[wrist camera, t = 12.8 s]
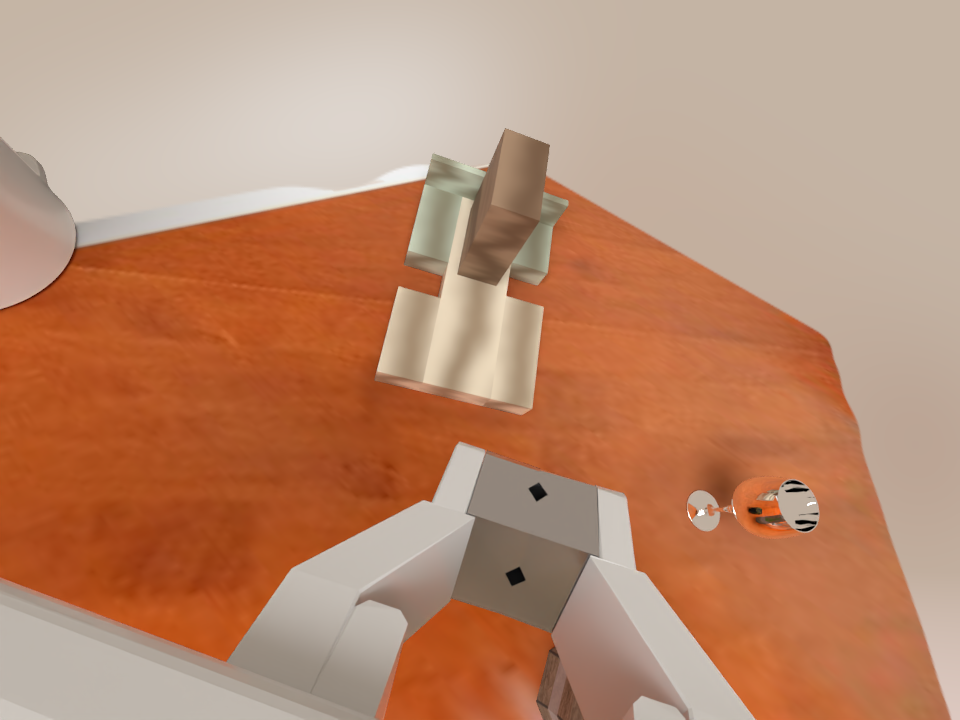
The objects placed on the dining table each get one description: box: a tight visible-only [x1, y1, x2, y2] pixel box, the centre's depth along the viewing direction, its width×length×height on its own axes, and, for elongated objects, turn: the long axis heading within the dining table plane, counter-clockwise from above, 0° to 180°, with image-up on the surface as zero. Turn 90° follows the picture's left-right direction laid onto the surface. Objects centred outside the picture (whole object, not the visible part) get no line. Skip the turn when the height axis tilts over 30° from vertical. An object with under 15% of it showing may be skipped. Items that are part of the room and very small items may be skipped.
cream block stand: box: [374, 154, 568, 415], centre depth 50 cm, size 16×24×7 cm, turn 170°
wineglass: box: [687, 476, 819, 539], centre depth 47 cm, size 6×6×12 cm
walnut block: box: [457, 128, 550, 286], centre depth 47 cm, size 4×9×12 cm, turn 170°
